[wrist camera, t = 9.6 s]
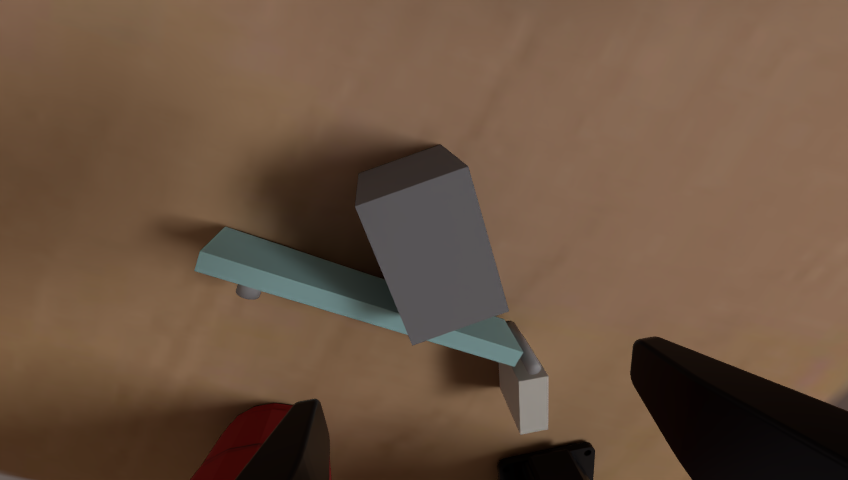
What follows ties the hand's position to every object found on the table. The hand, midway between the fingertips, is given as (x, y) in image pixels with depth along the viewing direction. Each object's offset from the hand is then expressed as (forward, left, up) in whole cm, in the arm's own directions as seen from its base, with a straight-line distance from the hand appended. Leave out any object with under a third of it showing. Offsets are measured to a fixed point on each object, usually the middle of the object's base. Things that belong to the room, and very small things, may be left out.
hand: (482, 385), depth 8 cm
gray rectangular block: (-1, 0, -12) cm, 13 cm away
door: (-4, +3, -12) cm, 13 cm away
